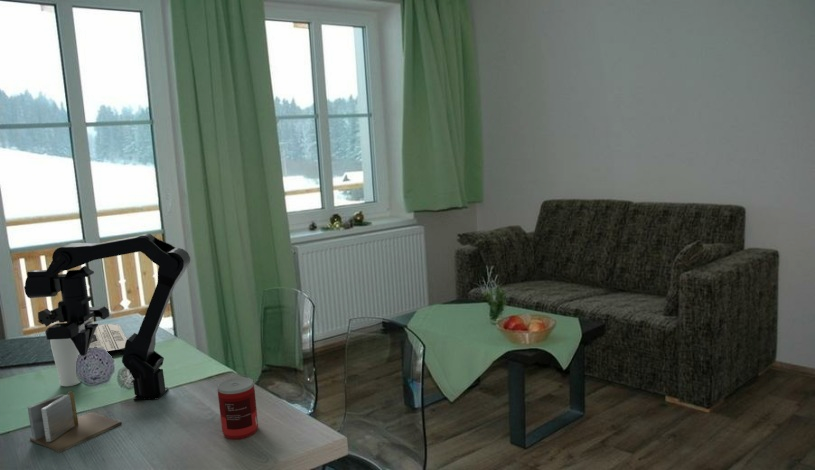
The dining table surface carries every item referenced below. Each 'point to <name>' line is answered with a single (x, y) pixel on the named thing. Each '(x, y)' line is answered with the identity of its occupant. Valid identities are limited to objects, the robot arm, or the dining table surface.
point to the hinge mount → (80, 432)
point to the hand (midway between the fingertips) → (83, 355)
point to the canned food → (238, 407)
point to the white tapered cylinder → (65, 360)
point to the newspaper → (108, 337)
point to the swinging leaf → (57, 418)
